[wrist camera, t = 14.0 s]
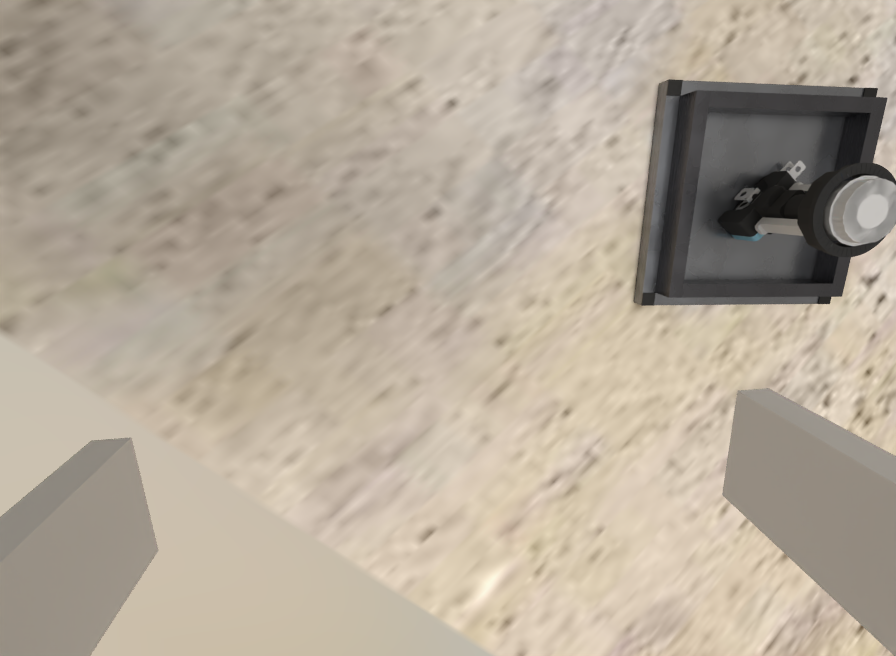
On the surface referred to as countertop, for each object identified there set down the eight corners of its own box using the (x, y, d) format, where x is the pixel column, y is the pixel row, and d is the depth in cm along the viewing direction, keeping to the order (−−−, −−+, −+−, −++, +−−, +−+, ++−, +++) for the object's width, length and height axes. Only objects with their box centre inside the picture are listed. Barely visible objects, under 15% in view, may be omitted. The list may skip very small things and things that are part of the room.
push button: (766, 140, 36) (902, 119, 26) (808, 189, 37) (952, 187, 27) (700, 211, 36) (809, 217, 27) (744, 257, 38) (862, 278, 28)
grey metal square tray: (659, 83, 35) (684, 73, 32) (861, 92, 37) (904, 82, 34) (633, 301, 39) (654, 311, 36) (816, 300, 41) (850, 309, 38)
